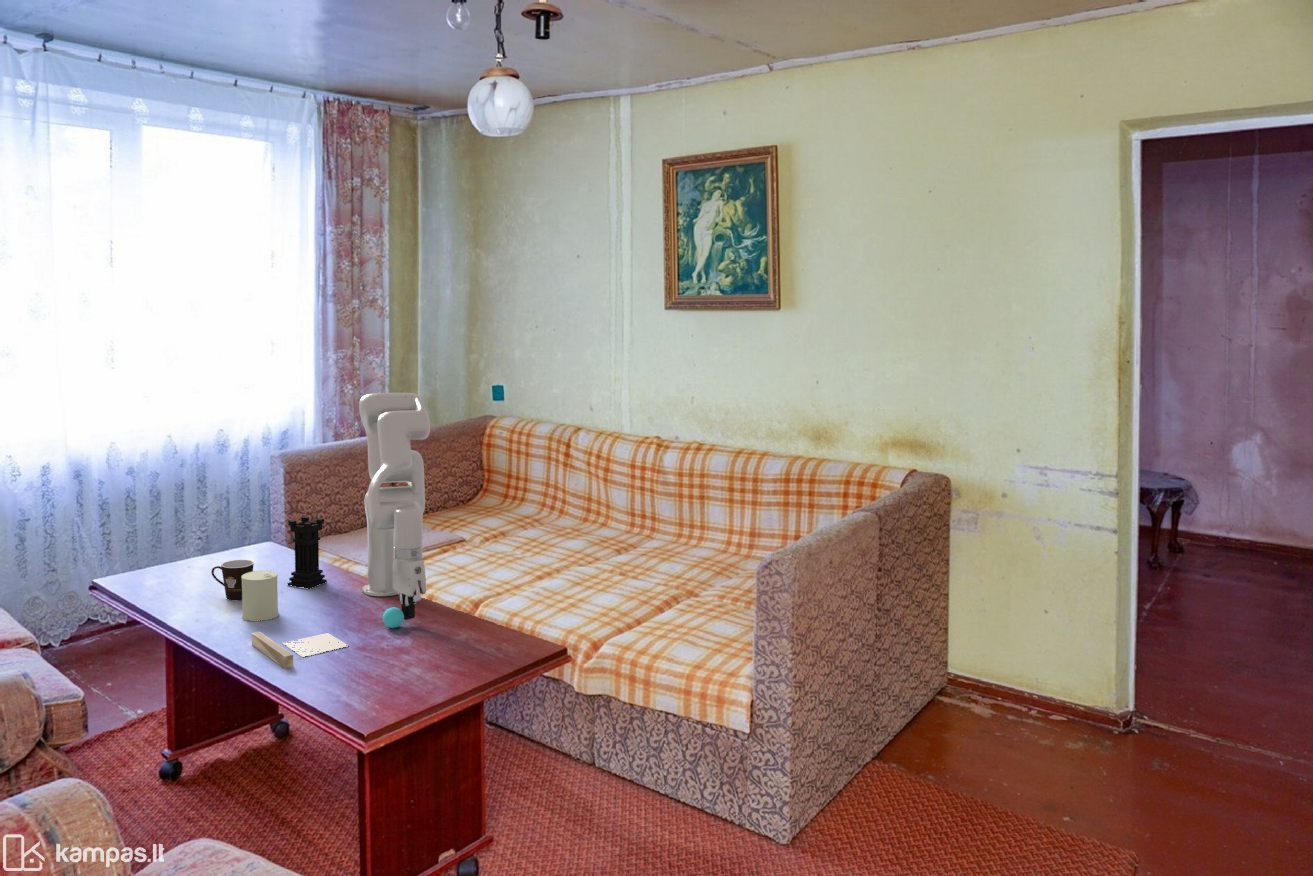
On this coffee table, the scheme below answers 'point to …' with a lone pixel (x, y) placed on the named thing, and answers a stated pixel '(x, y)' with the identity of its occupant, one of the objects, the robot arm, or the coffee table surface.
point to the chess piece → (306, 553)
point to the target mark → (315, 644)
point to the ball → (393, 617)
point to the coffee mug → (234, 577)
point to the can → (259, 595)
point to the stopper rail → (272, 650)
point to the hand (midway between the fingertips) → (408, 618)
